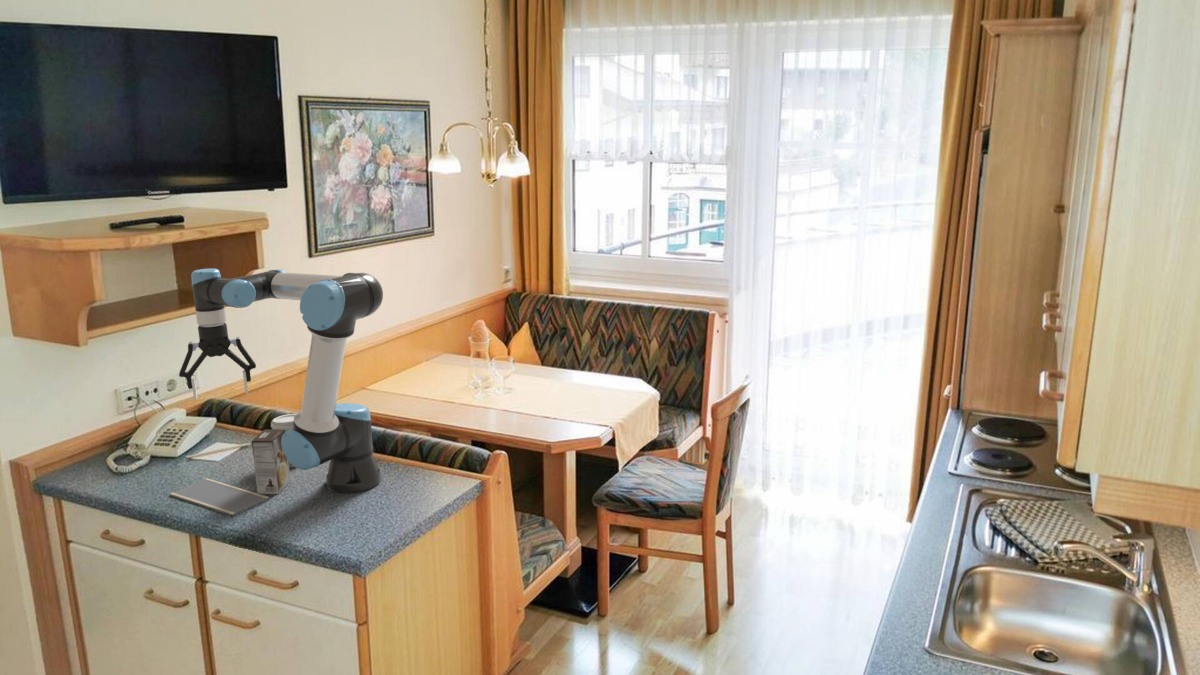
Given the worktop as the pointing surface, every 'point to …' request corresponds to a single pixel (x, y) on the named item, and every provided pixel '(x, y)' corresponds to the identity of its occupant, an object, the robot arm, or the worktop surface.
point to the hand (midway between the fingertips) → (221, 395)
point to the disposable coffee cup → (284, 424)
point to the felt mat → (219, 496)
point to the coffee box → (270, 462)
